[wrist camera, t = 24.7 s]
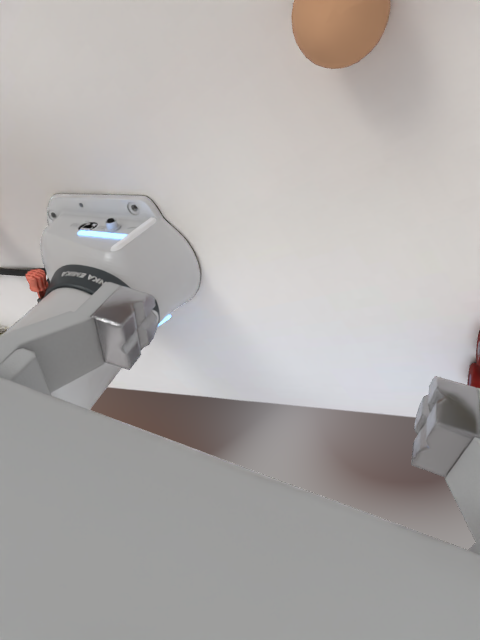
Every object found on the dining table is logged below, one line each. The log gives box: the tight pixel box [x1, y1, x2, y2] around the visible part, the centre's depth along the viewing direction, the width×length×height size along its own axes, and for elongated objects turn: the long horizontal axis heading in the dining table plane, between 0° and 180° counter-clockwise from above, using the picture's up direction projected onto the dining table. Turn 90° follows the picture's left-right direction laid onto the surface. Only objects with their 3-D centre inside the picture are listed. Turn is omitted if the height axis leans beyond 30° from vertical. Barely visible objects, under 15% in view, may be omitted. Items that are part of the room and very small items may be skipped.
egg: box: [292, 0, 390, 69], centre depth 31 cm, size 7×7×9 cm
